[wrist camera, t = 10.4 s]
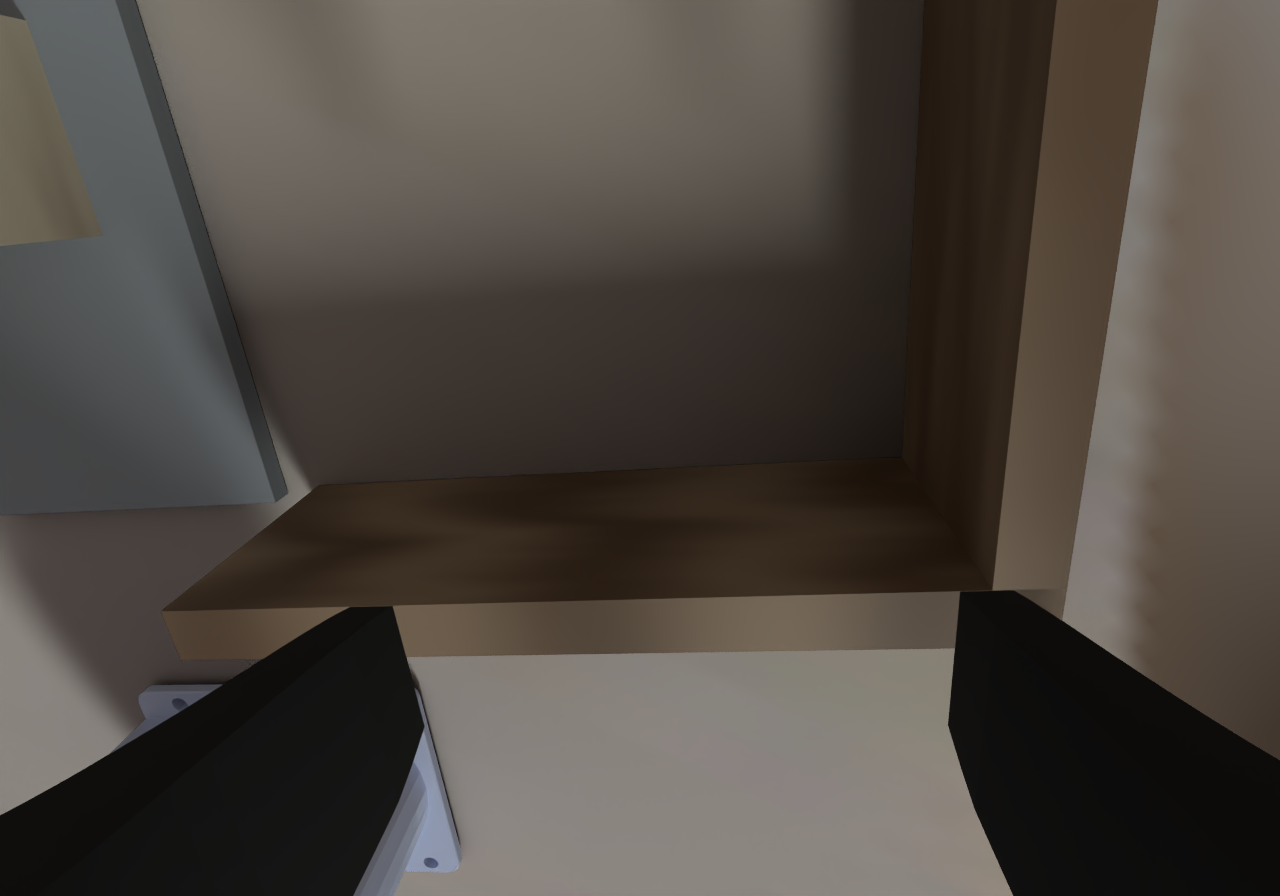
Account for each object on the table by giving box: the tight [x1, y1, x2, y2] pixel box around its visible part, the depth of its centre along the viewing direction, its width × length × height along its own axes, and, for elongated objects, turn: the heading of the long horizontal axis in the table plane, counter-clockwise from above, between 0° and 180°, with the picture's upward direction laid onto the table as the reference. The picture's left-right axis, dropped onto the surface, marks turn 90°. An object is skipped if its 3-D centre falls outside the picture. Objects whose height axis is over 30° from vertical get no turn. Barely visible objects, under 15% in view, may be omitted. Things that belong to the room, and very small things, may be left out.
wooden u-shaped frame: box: [161, 0, 1158, 660], centre depth 12 cm, size 17×21×6 cm
